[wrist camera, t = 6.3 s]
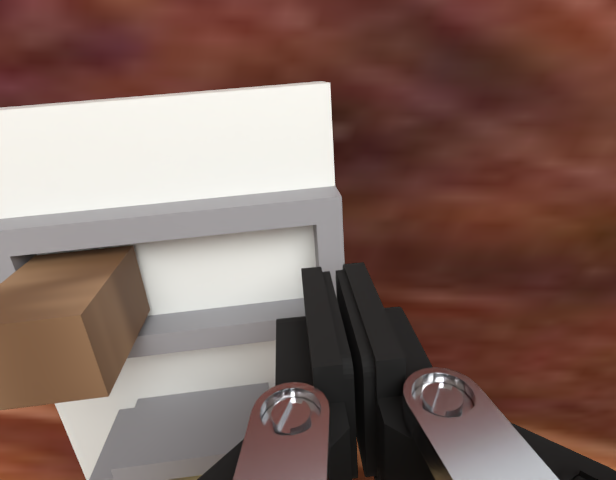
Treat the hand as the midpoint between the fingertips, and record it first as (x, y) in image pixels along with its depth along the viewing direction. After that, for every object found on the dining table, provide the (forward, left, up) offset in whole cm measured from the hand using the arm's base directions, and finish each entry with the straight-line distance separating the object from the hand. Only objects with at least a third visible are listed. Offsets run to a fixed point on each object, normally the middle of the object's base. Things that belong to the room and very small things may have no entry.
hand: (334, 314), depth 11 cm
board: (+5, +11, -5) cm, 13 cm away
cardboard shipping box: (+7, 0, -3) cm, 8 cm away
